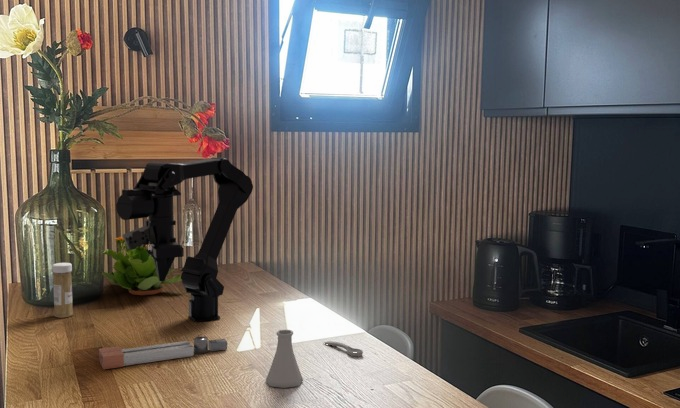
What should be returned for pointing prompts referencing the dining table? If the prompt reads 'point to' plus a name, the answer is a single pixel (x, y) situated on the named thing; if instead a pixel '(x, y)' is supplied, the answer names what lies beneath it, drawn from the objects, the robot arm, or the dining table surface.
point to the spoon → (349, 349)
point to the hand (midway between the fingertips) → (161, 280)
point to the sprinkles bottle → (62, 289)
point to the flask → (284, 363)
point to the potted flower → (136, 271)
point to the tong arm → (199, 347)
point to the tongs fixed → (154, 354)
